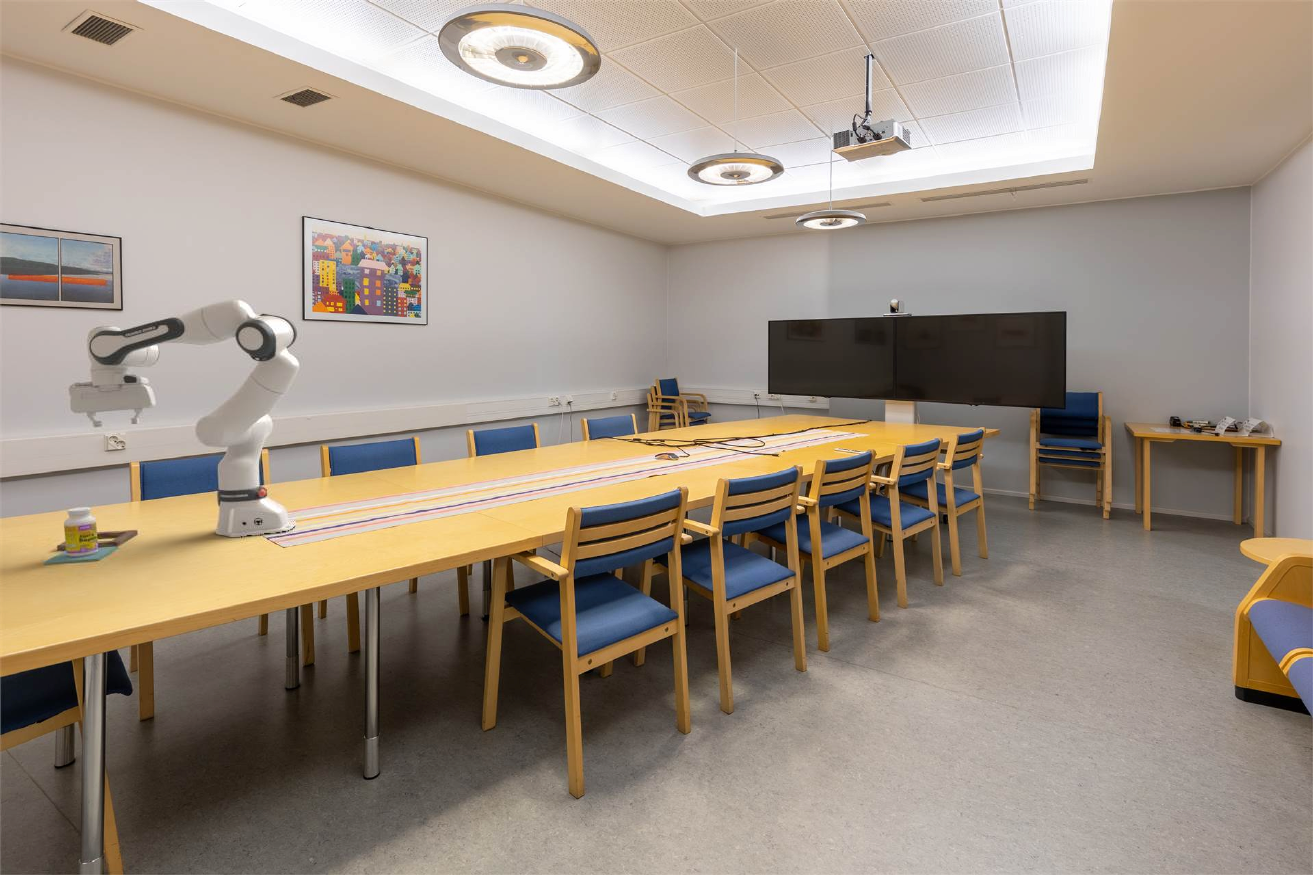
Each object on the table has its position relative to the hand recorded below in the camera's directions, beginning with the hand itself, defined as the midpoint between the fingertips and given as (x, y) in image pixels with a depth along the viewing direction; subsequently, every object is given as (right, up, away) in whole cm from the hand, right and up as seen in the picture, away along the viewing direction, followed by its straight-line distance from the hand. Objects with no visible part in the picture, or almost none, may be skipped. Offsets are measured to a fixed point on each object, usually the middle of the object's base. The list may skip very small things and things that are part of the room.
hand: (116, 425), depth 195 cm
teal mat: (+5, -37, -17) cm, 41 cm away
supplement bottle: (+5, -37, -17) cm, 41 cm away
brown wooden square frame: (-2, -35, -4) cm, 35 cm away
